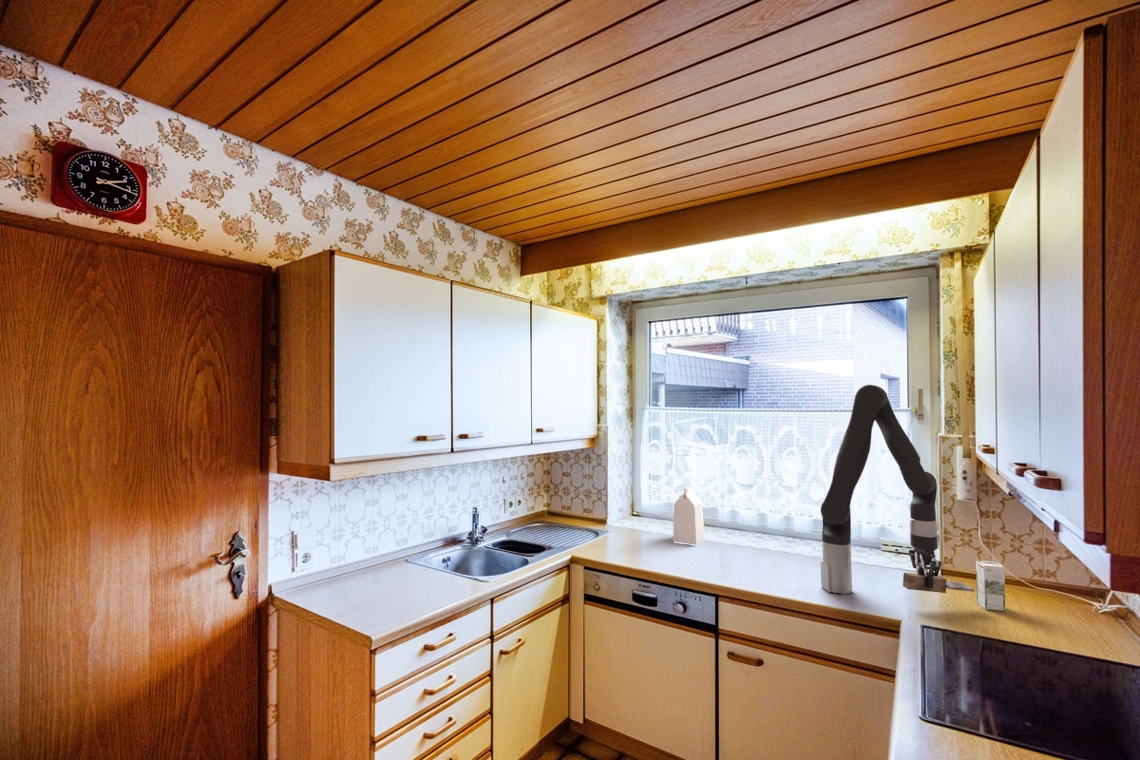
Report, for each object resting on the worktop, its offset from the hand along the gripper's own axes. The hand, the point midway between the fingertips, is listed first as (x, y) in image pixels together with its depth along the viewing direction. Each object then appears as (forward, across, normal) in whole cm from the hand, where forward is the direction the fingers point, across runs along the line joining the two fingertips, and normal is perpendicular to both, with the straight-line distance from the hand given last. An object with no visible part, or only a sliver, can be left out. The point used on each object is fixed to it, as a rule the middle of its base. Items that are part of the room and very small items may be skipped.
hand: (925, 585), depth 174 cm
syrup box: (+7, 0, +21) cm, 22 cm away
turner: (+2, 0, +3) cm, 4 cm away
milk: (+7, -80, -62) cm, 102 cm away
